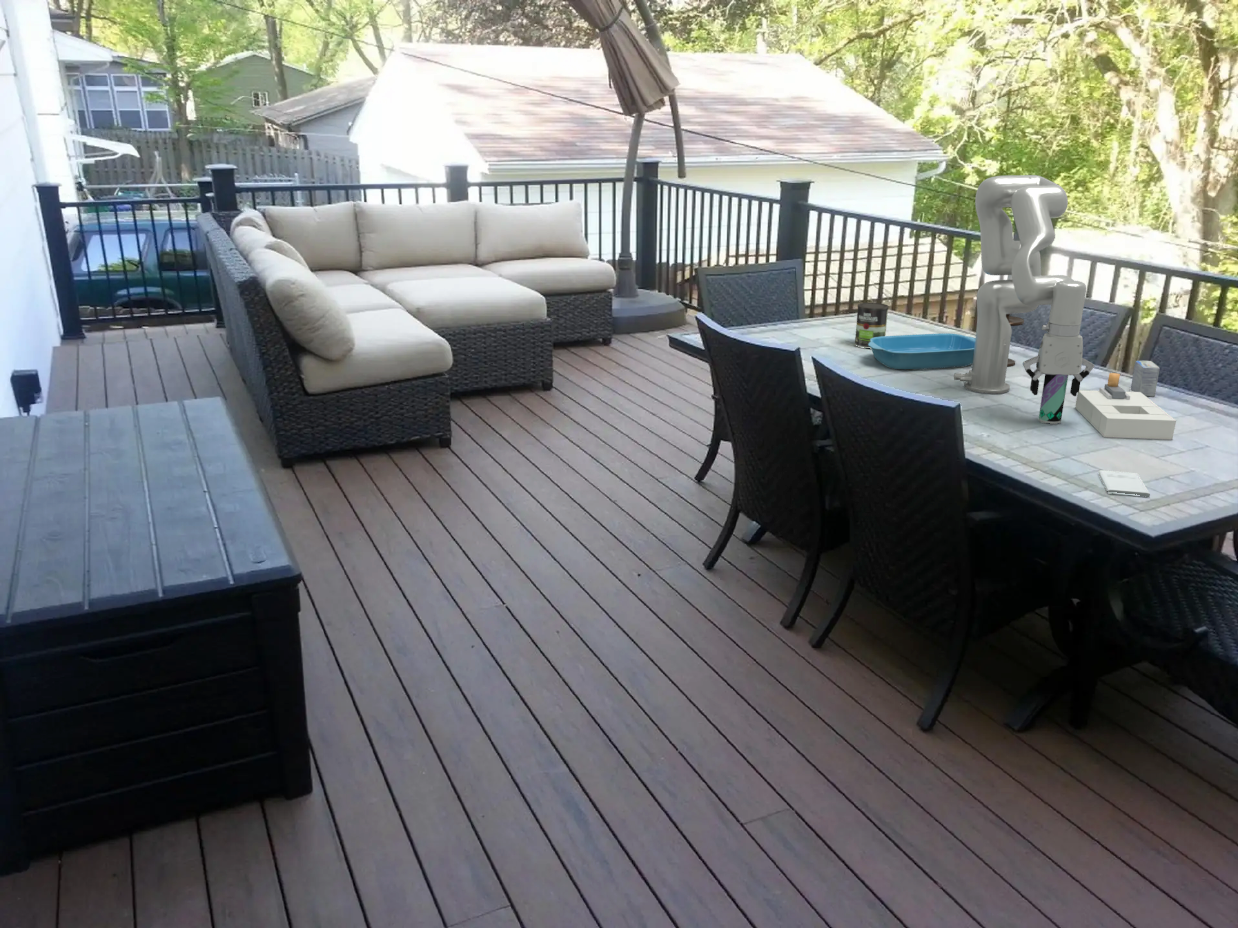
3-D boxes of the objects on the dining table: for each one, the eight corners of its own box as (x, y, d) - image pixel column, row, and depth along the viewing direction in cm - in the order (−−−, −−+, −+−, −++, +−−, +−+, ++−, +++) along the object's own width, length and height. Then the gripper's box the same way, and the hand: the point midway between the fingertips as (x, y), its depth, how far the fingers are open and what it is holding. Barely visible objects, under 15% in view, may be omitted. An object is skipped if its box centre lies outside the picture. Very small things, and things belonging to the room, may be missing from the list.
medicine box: (1154, 397, 273) (1160, 367, 270) (1137, 396, 274) (1143, 367, 271) (1146, 389, 280) (1152, 360, 277) (1129, 389, 281) (1135, 360, 278)
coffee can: (878, 350, 327) (882, 309, 322) (849, 346, 332) (852, 306, 327) (889, 344, 335) (893, 304, 330) (861, 341, 340) (864, 301, 335)
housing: (1104, 437, 241) (1108, 414, 239) (1075, 407, 265) (1078, 386, 262) (1172, 439, 239) (1177, 416, 237) (1137, 409, 262) (1141, 388, 260)
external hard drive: (1107, 496, 207) (1097, 475, 219) (1149, 500, 205) (1137, 479, 216) (1108, 489, 207) (1098, 469, 218) (1150, 493, 205) (1138, 472, 216)
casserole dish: (882, 374, 300) (884, 352, 297) (856, 357, 320) (857, 336, 318) (993, 369, 304) (996, 347, 302) (960, 352, 325) (963, 331, 322)
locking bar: (1112, 398, 255) (1115, 379, 253) (1103, 391, 261) (1107, 372, 260) (1124, 398, 254) (1127, 379, 253) (1115, 391, 261) (1118, 373, 259)
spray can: (1034, 418, 256) (1045, 344, 249) (1054, 417, 257) (1065, 344, 250) (1044, 424, 251) (1056, 349, 244) (1064, 423, 252) (1076, 349, 245)
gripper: (1031, 332, 243) (1022, 397, 249) (1104, 334, 241) (1093, 399, 247) (1024, 326, 250) (1015, 389, 256) (1094, 327, 248) (1084, 391, 254)
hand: (1053, 394), depth 251 cm, fingers open, 9 cm apart
